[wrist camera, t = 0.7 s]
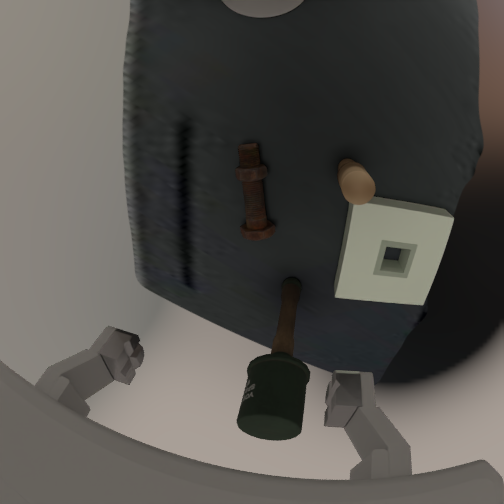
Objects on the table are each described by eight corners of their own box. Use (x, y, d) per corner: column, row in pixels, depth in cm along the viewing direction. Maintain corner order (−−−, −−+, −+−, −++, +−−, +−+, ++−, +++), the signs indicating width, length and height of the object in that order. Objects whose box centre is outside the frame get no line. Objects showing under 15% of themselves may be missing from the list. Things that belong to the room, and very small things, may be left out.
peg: (335, 153, 40) (343, 169, 31) (362, 157, 40) (378, 174, 30) (333, 179, 43) (339, 203, 33) (359, 183, 42) (372, 207, 33)
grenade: (272, 261, 52) (233, 407, 27) (318, 269, 51) (313, 420, 26) (267, 296, 57) (231, 434, 31) (309, 304, 56) (296, 445, 30)
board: (350, 193, 43) (354, 201, 40) (445, 209, 40) (454, 218, 37) (334, 284, 52) (334, 297, 49) (417, 292, 49) (423, 305, 46)
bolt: (257, 141, 44) (265, 225, 51) (227, 145, 43) (238, 231, 49) (270, 142, 39) (279, 237, 46) (237, 147, 38) (249, 244, 44)
